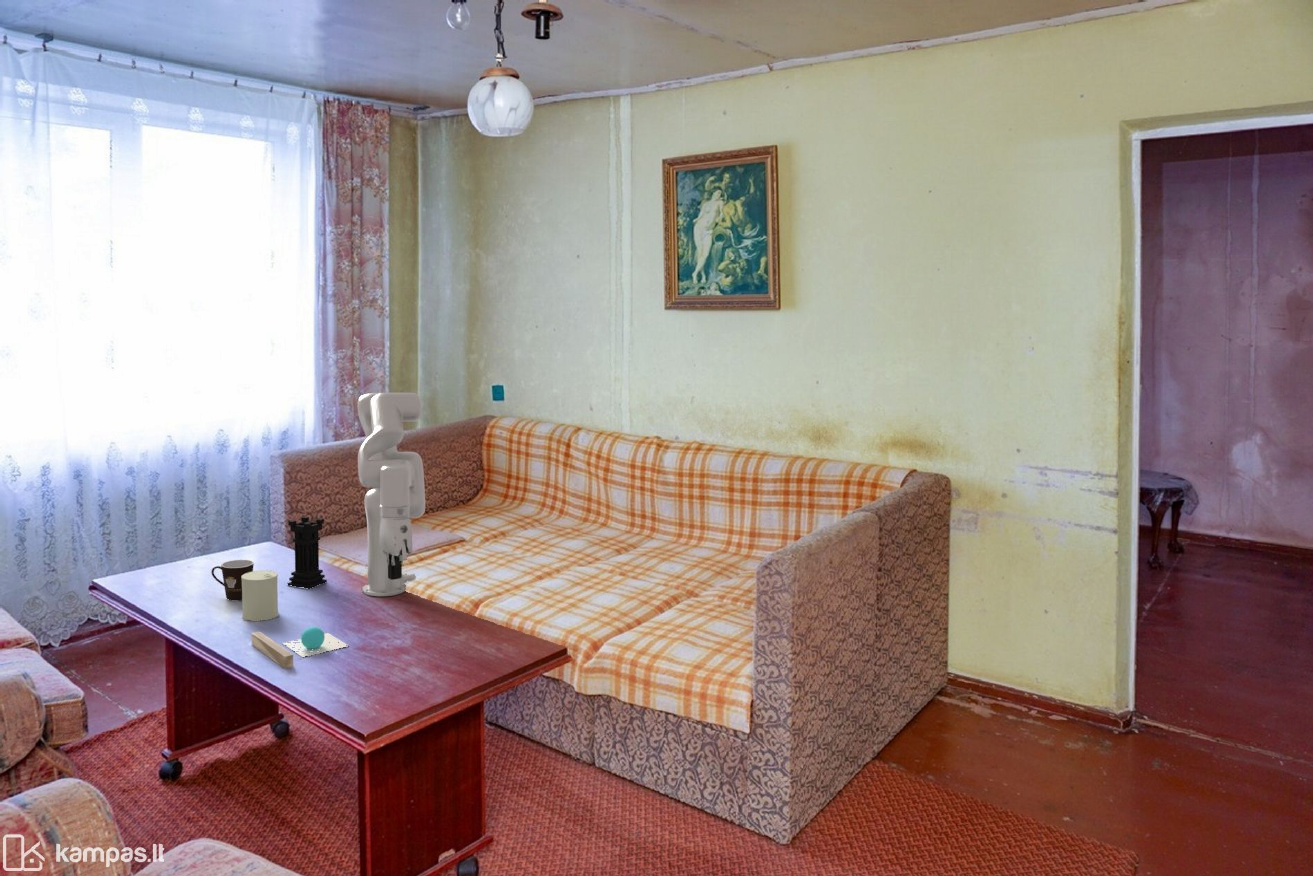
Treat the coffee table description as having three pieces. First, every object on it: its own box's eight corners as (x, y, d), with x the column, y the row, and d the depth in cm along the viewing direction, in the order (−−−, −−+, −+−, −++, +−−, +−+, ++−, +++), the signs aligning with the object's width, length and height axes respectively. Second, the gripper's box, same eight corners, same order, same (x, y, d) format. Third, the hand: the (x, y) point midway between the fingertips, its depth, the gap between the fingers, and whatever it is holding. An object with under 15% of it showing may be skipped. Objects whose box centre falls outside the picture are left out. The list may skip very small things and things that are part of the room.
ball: (297, 625, 231) (295, 647, 232) (310, 631, 228) (308, 653, 228) (317, 623, 236) (315, 644, 236) (330, 628, 232) (327, 649, 233)
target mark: (327, 633, 243) (327, 632, 243) (349, 646, 234) (349, 645, 234) (282, 643, 235) (282, 643, 235) (302, 657, 226) (302, 657, 226)
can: (265, 623, 249) (264, 579, 247) (234, 619, 251) (233, 576, 249) (285, 612, 258) (284, 570, 256) (255, 609, 260) (254, 567, 258)
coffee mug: (260, 596, 270) (260, 563, 269) (233, 603, 263) (232, 569, 262) (236, 588, 276) (236, 556, 275) (209, 595, 269) (208, 562, 268)
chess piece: (326, 582, 286) (326, 518, 283) (309, 589, 279) (308, 524, 276) (305, 578, 289) (304, 516, 286) (287, 585, 281) (286, 521, 278)
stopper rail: (259, 643, 235) (259, 631, 234) (293, 666, 221) (293, 654, 220) (251, 644, 233) (251, 633, 233) (284, 668, 219) (284, 656, 219)
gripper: (422, 514, 243) (421, 582, 245) (393, 504, 253) (393, 569, 256) (396, 518, 237) (396, 587, 240) (368, 507, 248) (368, 574, 251)
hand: (394, 578), depth 248 cm, fingers closed
